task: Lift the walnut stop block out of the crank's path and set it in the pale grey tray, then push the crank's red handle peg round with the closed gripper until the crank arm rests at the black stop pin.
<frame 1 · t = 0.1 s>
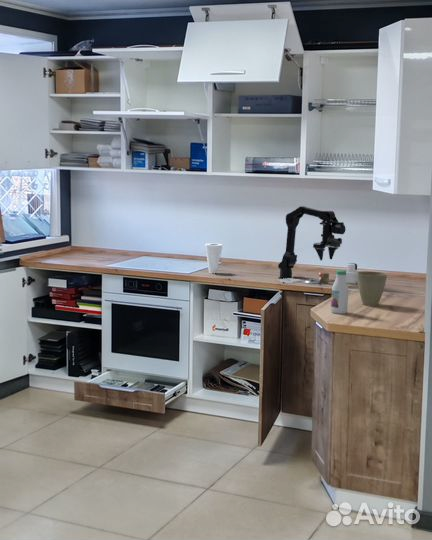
hand: (326, 259, 448), 14 cm above the table, tool pointing down, fingers open, 9 cm apart
medicine bottle: (350, 284, 457), on the table
tray: (290, 282, 452), on the table
stop block: (324, 283, 447), point 1 cm above the table, touching crank plate
crank: (313, 277, 450), point 4 cm above the table, hinge at 80.0°
plant pot: (369, 305, 391), on the table
milk bottle: (338, 312, 368), on the table
crank plate: (311, 284, 449), on the table
cup: (212, 273, 479), on the table
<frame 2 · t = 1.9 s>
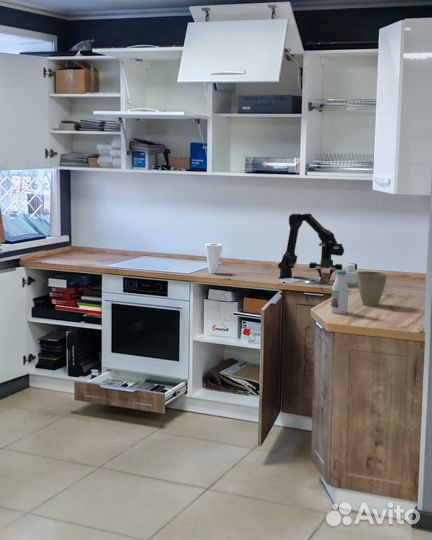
hand: (325, 280, 447), 3 cm above the table, tool pointing down, fingers closed on stop block, 4 cm apart
stop block: (324, 283, 447), point 1 cm above the table, touching crank plate, gripper
everything else where it was.
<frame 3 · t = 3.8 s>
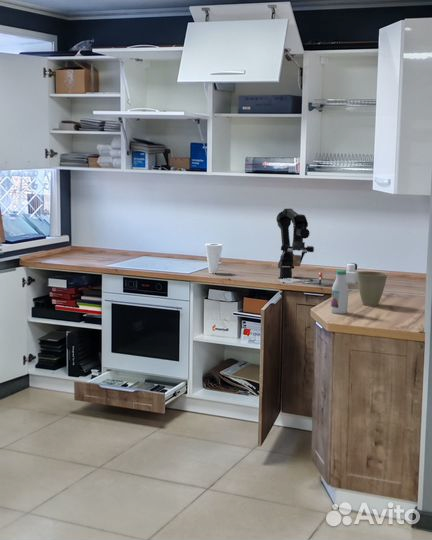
hand: (296, 263, 450), 12 cm above the table, tool pointing down, fingers closed on stop block, 4 cm apart
stop block: (296, 265, 450), point 10 cm above the table, touching gripper
everything else where it was.
when the fingers open (3 cm above the table, at t = 5.9 s): stop block drops 2 cm, resting on tray.
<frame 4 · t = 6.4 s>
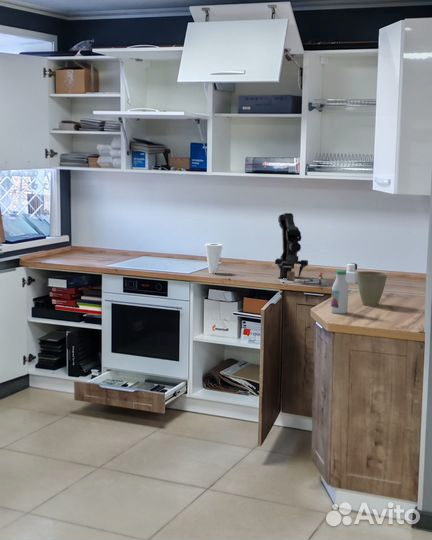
hand: (290, 276, 452), 3 cm above the table, tool pointing down, fingers open, 9 cm apart
stop block: (290, 281, 452), resting on tray
everything else where it was.
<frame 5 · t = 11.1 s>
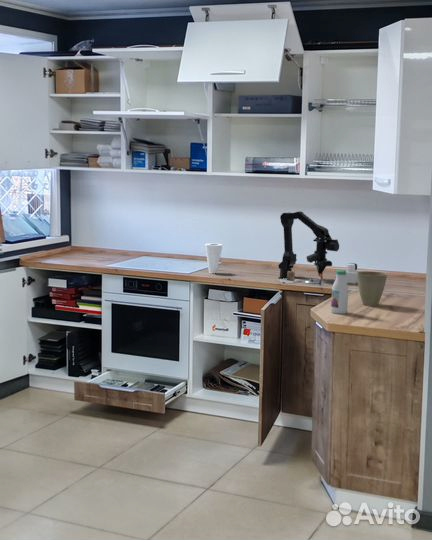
hand: (319, 275, 455), 4 cm above the table, tool pointing down, fingers closed
crank: (314, 277, 450), point 4 cm above the table, hinge at 77.8°, touching gripper
everything else where it was.
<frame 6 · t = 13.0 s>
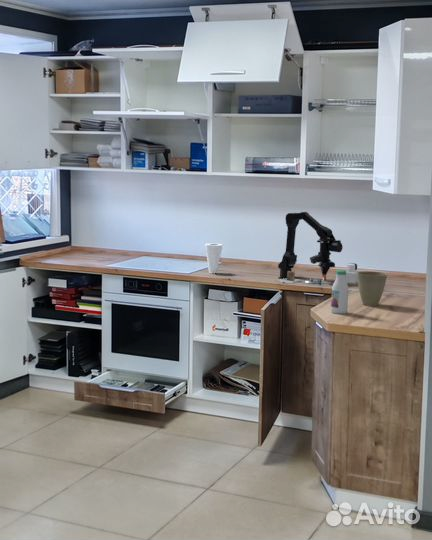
hand: (323, 277, 450), 4 cm above the table, tool pointing down, fingers closed
crank: (314, 278, 448), point 4 cm above the table, hinge at 38.5°, touching gripper
everything else where it was.
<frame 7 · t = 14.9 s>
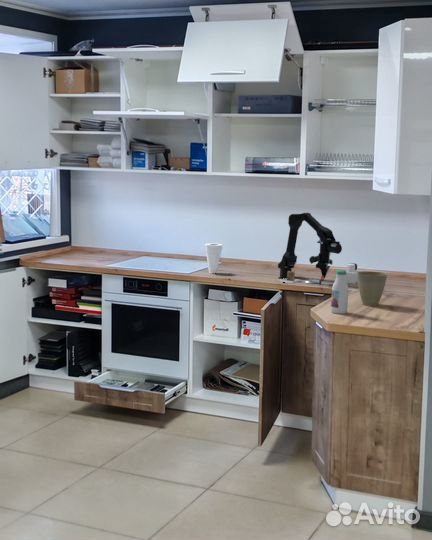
hand: (323, 278, 445), 4 cm above the table, tool pointing down, fingers closed
crank: (314, 278, 447), point 4 cm above the table, hinge at -1.3°, touching gripper
everything else where it was.
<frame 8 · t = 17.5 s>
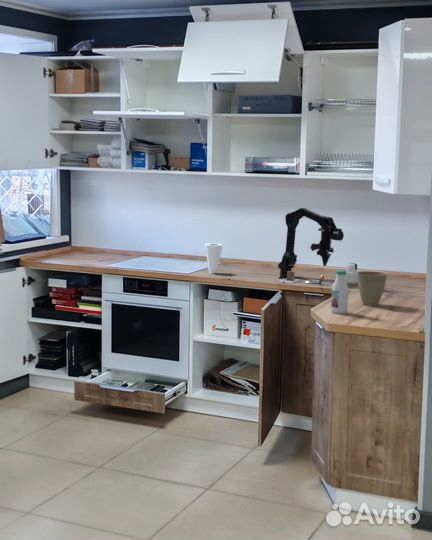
hand: (324, 266, 447), 11 cm above the table, tool pointing down, fingers closed
crank: (314, 278, 447), point 4 cm above the table, hinge at -1.4°
everything else where it was.
at the end: stop block 0.1 cm off-centre on the tray, point 0.5 cm above the tray's base; crank at -1° (first picture: +80°) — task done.
